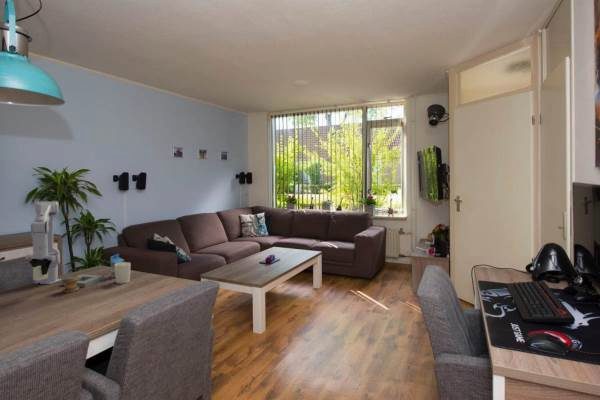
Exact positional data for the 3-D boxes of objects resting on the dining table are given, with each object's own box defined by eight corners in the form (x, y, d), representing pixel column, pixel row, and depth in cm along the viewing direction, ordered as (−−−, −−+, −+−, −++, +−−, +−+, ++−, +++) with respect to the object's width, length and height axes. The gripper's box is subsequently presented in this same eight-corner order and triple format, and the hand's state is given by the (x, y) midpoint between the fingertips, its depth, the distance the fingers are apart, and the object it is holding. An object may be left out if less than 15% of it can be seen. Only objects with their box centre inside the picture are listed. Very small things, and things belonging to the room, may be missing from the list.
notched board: (61, 285, 182) (61, 281, 182) (81, 277, 196) (81, 274, 196) (85, 287, 181) (85, 283, 180) (104, 279, 194) (103, 275, 194)
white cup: (126, 284, 187) (125, 266, 186) (111, 283, 187) (111, 265, 186) (133, 279, 195) (133, 262, 194) (119, 279, 195) (119, 262, 194)
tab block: (33, 280, 164) (32, 267, 164) (42, 277, 169) (42, 265, 169) (38, 280, 164) (38, 268, 163) (48, 277, 169) (47, 265, 168)
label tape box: (117, 277, 198) (117, 256, 197) (110, 277, 198) (110, 256, 197) (125, 273, 206) (125, 253, 205) (118, 273, 206) (118, 253, 206)
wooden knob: (59, 292, 172) (58, 280, 172) (70, 287, 179) (70, 276, 179) (71, 293, 171) (71, 281, 171) (82, 288, 178) (82, 277, 178)
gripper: (19, 247, 163) (20, 275, 164) (46, 248, 161) (47, 277, 162) (33, 244, 170) (34, 271, 171) (59, 245, 168) (59, 273, 169)
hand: (41, 274), depth 167 cm, fingers closed on tab block, 3 cm apart
